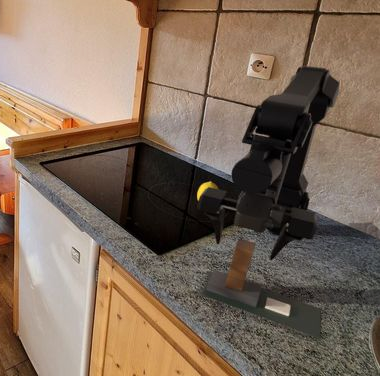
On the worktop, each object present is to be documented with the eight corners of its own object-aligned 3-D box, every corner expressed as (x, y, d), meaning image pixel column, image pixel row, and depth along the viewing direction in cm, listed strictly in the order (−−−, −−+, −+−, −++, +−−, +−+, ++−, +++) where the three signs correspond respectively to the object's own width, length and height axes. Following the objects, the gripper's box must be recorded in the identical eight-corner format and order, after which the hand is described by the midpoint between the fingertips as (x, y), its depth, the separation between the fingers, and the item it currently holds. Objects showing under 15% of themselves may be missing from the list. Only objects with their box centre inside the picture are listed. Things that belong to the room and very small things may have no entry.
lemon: (205, 213, 111) (211, 187, 107) (190, 205, 115) (195, 179, 112) (219, 209, 113) (226, 183, 110) (204, 201, 118) (210, 176, 114)
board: (320, 310, 77) (321, 308, 76) (319, 341, 70) (320, 338, 70) (210, 273, 86) (211, 271, 86) (200, 297, 79) (201, 294, 79)
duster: (259, 293, 80) (274, 246, 75) (255, 307, 76) (271, 259, 72) (212, 277, 84) (223, 231, 80) (206, 290, 80) (217, 243, 76)
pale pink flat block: (290, 307, 77) (290, 305, 76) (288, 316, 74) (289, 314, 74) (266, 299, 78) (267, 297, 78) (264, 308, 76) (265, 305, 76)
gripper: (197, 177, 68) (181, 254, 74) (328, 207, 59) (297, 292, 65) (212, 158, 76) (197, 229, 83) (328, 181, 67) (301, 259, 74)
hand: (243, 251), depth 76 cm, fingers open, 9 cm apart
